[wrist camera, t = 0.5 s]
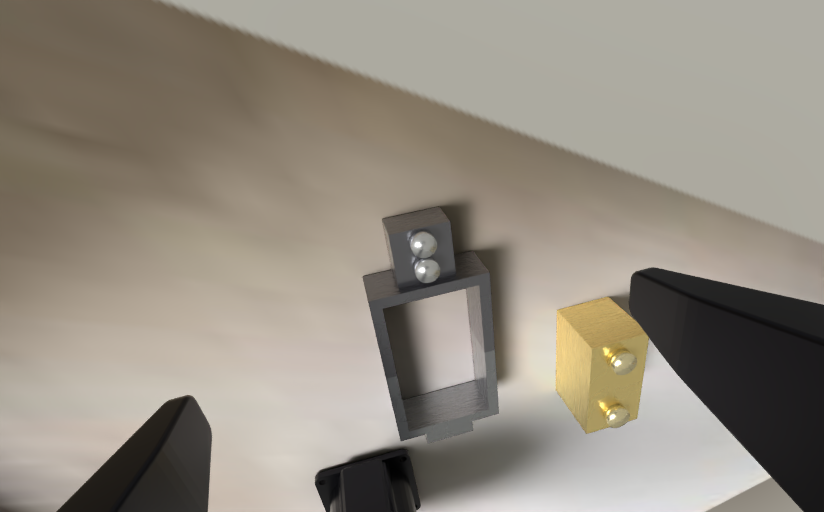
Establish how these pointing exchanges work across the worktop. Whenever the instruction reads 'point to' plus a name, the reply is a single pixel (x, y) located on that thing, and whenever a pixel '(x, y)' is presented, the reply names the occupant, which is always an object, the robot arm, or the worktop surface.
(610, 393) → the gold block with knobs
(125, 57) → the worktop surface
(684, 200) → the worktop surface
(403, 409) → the open rectangular frame
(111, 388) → the worktop surface
